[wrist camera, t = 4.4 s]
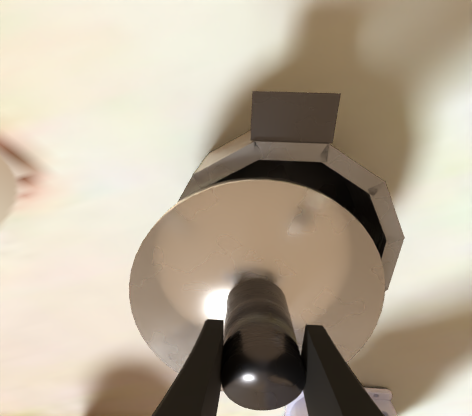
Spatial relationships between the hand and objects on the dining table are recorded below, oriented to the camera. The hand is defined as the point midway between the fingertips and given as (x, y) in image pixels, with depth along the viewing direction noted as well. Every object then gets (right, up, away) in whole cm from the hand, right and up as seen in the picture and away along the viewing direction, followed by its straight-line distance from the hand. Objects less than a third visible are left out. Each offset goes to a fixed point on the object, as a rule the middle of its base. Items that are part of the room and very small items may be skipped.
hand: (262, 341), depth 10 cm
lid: (0, +1, +4) cm, 5 cm away
